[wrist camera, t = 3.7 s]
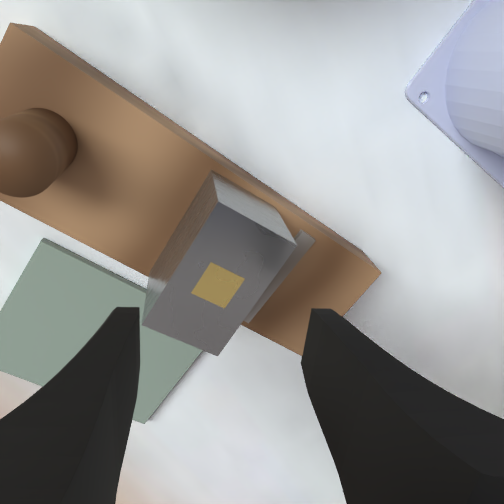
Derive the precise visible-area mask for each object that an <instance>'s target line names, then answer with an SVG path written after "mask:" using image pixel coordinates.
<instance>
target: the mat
mask: <svg viewBox="0 0 504 504" xmlns="http://www.w3.org/2000/svg"><path fill="white" fill-rule="evenodd" d="M146 292H147V290H146V289H144V288H142V287H140V286H138V285H136V284H134V283H132V282H130V281H128V280H126V279H124V278H122V277H120V276H118V275H117V274H115V273H113V272H111V271H109V270H107V269H105V268H103V267H101V266H99V265H97V264H95V263H93V262H91V261H89V260H87V259H85V258H83V257H81V256H79V255H77V254H75V253H73V252H71V251H69V250H67V249H65V248H63V247H61V246H59V245H57V244H55V243H53V242H51V241H49V240H47V239H45V238H43V239H42V240H41V242H40V243H39V245H38V247H37V249H36V250H35V252H34V254H33V256H32V257H31V259H30V261H29V263H28V264H27V266H26V268H25V269H24V271H23V273H22V275H21V276H20V278H19V280H18V282H17V283H16V285H15V287H14V289H13V290H12V292H11V294H10V295H9V297H8V299H7V301H6V302H5V304H4V306H3V308H2V309H1V311H0V371H2V372H5V373H8V374H10V375H13V376H16V377H19V378H21V379H24V380H27V381H29V382H32V383H35V384H37V385H40V386H44V385H45V384H46V383H47V382H48V381H50V380H51V379H52V378H53V377H54V376H55V375H56V374H57V373H58V372H59V371H60V370H61V369H62V368H63V367H64V366H65V365H66V364H67V363H68V362H69V361H70V360H71V359H72V358H73V357H74V356H75V355H76V354H77V353H78V352H79V351H80V350H81V349H82V347H83V346H84V345H85V344H86V343H87V342H88V341H89V340H90V338H91V337H92V336H93V335H94V334H95V333H96V331H97V330H98V329H99V328H100V326H101V325H102V324H103V323H104V321H105V320H106V319H107V317H108V316H109V315H110V313H111V312H112V311H113V310H114V309H115V308H116V307H140V373H139V383H138V392H137V400H136V404H135V409H134V414H133V418H132V420H135V421H137V422H140V423H143V424H145V423H146V421H147V420H148V419H149V418H150V416H151V415H152V414H153V413H154V411H155V410H156V409H157V408H158V406H159V405H160V404H161V402H162V401H163V400H164V399H165V397H166V396H167V395H168V394H169V392H170V391H171V390H172V389H173V387H174V386H175V385H176V383H177V382H178V381H179V380H180V378H181V377H182V376H183V375H184V373H185V372H186V371H187V370H188V368H189V367H190V366H191V364H192V363H193V362H194V361H195V359H196V358H197V357H198V356H199V354H200V353H201V352H202V351H203V350H201V349H199V348H196V347H194V346H191V345H189V344H186V343H184V342H181V341H179V340H176V339H174V338H172V337H169V336H167V335H164V334H162V333H159V332H157V331H154V330H152V329H149V328H147V327H144V326H142V325H141V324H142V318H143V311H144V305H145V298H146Z"/></svg>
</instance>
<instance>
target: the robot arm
mask: <svg viewBox="0 0 504 504" xmlns="http://www.w3.org/2000/svg"><path fill="white" fill-rule="evenodd" d="M422 92H426V93H427V99H426V101H425V102H423V103H420V101H419V96H420V94H421V93H422ZM405 97H406V98H407V100H409V101H410V102H411V103H412V104H413V105H414V106H415V107H416V108H417V109H418V110H419V111H420V112H421V113H423V114H424V115H425V116H426V117H427V118H428V119H429V120H430V121H431V122H432V123H433V124H434V125H436V126H437V127H438V128H439V129H440V130H441V131H442V132H443V133H444V134H445V135H446V136H447V137H449V138H450V139H451V140H452V141H453V142H454V143H455V144H456V145H457V146H458V147H459V148H460V149H462V150H463V151H464V152H465V153H466V154H467V155H468V156H469V157H470V158H471V159H472V160H473V161H475V162H476V163H477V164H478V165H479V166H480V167H481V168H482V169H483V170H484V171H485V172H486V173H488V174H489V175H490V176H491V177H492V178H493V179H494V180H495V181H496V182H497V183H498V184H499V185H501V186H502V187H503V188H504V0H473V1H472V3H471V4H470V5H469V6H468V8H467V9H466V10H465V12H464V13H463V14H462V15H461V17H460V18H459V19H458V20H457V22H456V23H455V24H454V26H453V27H452V28H451V29H450V31H449V32H448V33H447V34H446V36H445V37H444V38H443V40H442V41H441V42H440V43H439V45H438V46H437V47H436V48H435V50H434V51H433V52H432V54H431V55H430V56H429V57H428V59H427V60H426V61H425V62H424V64H423V65H422V66H421V68H420V69H419V70H418V71H417V73H416V74H415V75H414V76H413V78H412V79H411V80H410V82H409V83H408V84H407V86H406V88H405ZM301 365H302V369H303V374H304V379H305V383H306V387H307V391H308V394H309V397H310V400H311V402H312V405H313V408H314V410H315V413H316V416H317V418H318V421H319V423H320V426H321V429H322V431H323V434H324V436H325V439H326V442H327V444H328V447H329V449H330V452H331V455H332V457H333V460H334V463H335V465H336V468H337V471H338V474H339V477H340V481H341V485H342V488H343V492H344V496H345V499H346V503H347V504H504V419H502V418H499V417H497V416H495V415H493V414H491V413H489V412H486V411H484V410H482V409H480V408H478V407H476V406H474V405H472V404H470V403H468V402H466V401H464V400H462V399H460V398H458V397H457V396H455V395H453V394H451V393H449V392H447V391H446V390H444V389H442V388H441V387H439V386H437V385H436V384H434V383H432V382H431V381H429V380H427V379H426V378H424V377H422V376H421V375H419V374H418V373H416V372H414V371H413V370H411V369H410V368H408V367H407V366H406V365H404V364H403V363H401V362H400V361H398V360H397V359H396V358H394V357H393V356H391V355H390V354H389V353H387V352H386V351H385V350H383V349H382V348H381V347H379V346H378V345H377V344H376V343H374V342H373V341H372V340H370V339H369V338H368V337H367V336H365V335H364V334H363V333H362V332H360V331H359V330H358V329H357V328H355V327H354V326H353V325H352V324H351V323H349V322H348V321H347V320H346V319H344V318H343V317H342V316H341V315H339V314H338V313H337V312H335V311H334V310H332V309H325V308H311V313H310V319H309V324H308V329H307V334H306V339H305V345H304V350H303V355H302V360H301ZM139 373H140V307H116V308H115V309H114V310H113V311H112V312H111V313H110V315H109V316H108V317H107V319H106V320H105V321H104V323H103V324H102V325H101V326H100V328H99V329H98V330H97V331H96V333H95V334H94V335H93V336H92V337H91V338H90V340H89V341H88V342H87V343H86V344H85V345H84V346H83V347H82V349H81V350H80V351H79V352H78V353H77V354H76V355H75V356H74V357H73V358H72V359H71V360H70V361H69V362H68V363H67V364H66V365H65V366H64V367H63V368H62V369H61V370H60V371H59V372H58V373H57V374H56V375H55V376H54V377H53V378H52V379H51V380H50V381H48V382H47V383H46V384H45V385H44V386H43V387H42V388H41V389H39V390H38V391H37V392H36V393H35V394H33V395H32V396H31V397H30V398H29V399H27V400H26V401H25V402H24V403H22V404H21V405H20V406H18V407H17V408H16V409H14V410H13V411H11V412H10V413H9V414H7V415H6V416H4V417H3V418H2V419H0V504H115V501H116V493H117V487H118V482H119V476H120V471H121V467H122V463H123V458H124V454H125V449H126V445H127V440H128V436H129V431H130V427H131V423H132V418H133V414H134V409H135V404H136V400H137V392H138V383H139Z"/></svg>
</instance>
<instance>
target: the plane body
mask: <svg viewBox="0 0 504 504" xmlns="http://www.w3.org/2000/svg"><path fill="white" fill-rule="evenodd" d="M211 170H213V171H215V172H216V173H218V174H220V175H222V176H223V177H225V178H227V179H228V180H230V181H232V182H234V183H235V184H237V185H239V186H240V187H242V188H244V189H246V190H247V191H249V192H251V193H252V194H254V195H256V196H258V197H259V198H261V199H263V200H264V201H266V202H268V203H270V204H271V205H273V206H275V207H276V209H277V211H278V213H279V214H280V216H281V218H282V220H283V221H284V223H285V225H286V226H287V228H288V230H289V232H290V233H291V235H292V237H293V239H294V240H295V242H296V244H297V246H296V248H295V249H294V251H293V252H292V253H291V255H290V256H289V258H288V259H287V260H286V262H285V263H284V265H283V266H282V267H281V269H280V270H279V271H278V273H277V274H276V276H275V277H274V278H273V280H272V281H271V283H270V284H269V285H268V287H267V288H266V290H265V291H264V292H263V294H262V295H261V297H260V298H259V299H258V301H257V302H256V304H255V305H254V306H253V308H252V309H251V311H250V312H249V313H248V315H247V316H246V318H245V319H244V320H243V322H242V323H241V325H243V326H245V327H247V328H249V329H251V330H252V331H254V332H256V333H258V334H260V335H262V336H264V337H266V338H268V339H270V340H272V341H274V342H276V343H278V344H280V345H282V346H284V347H285V348H287V349H289V350H291V351H293V352H295V353H297V354H299V355H301V356H302V355H303V350H304V345H305V339H306V334H307V329H308V324H309V319H310V313H311V308H325V309H332V310H334V311H335V312H337V313H338V314H339V315H341V316H342V317H343V316H344V314H345V313H346V312H347V311H348V310H349V309H350V308H351V307H352V305H353V304H354V303H355V302H356V301H357V300H358V299H359V298H360V296H361V295H362V294H363V293H364V292H365V291H366V290H367V289H368V288H369V286H370V285H371V284H372V283H373V282H374V281H375V280H376V279H377V277H378V276H379V275H380V274H381V272H380V270H379V269H378V268H377V267H376V266H375V265H374V264H373V262H372V261H371V260H370V259H369V258H368V257H367V256H366V255H365V253H364V252H363V251H362V250H360V249H359V248H357V247H356V246H354V245H353V244H351V243H350V242H349V241H347V240H346V239H344V238H343V237H341V236H340V235H338V234H337V233H335V232H334V231H332V230H331V229H330V228H328V227H327V226H325V225H324V224H322V223H321V222H319V221H318V220H316V219H315V218H313V217H312V216H311V215H309V214H308V213H306V212H305V211H303V210H302V209H300V208H299V207H297V206H296V205H294V204H293V203H292V202H290V201H289V200H287V199H286V198H284V197H283V196H281V195H280V194H278V193H277V192H275V191H274V190H273V189H271V188H270V187H268V186H267V185H265V184H264V183H262V182H261V181H259V180H258V179H256V178H255V177H254V176H252V175H251V174H249V173H248V172H246V171H245V170H243V169H242V168H240V167H239V166H238V165H236V164H235V163H233V162H232V161H230V160H229V159H227V158H226V157H224V156H223V155H221V154H220V153H219V152H217V151H216V150H214V149H213V148H211V147H210V146H208V145H207V144H205V143H204V142H202V141H201V140H200V139H198V138H197V137H195V136H194V135H192V134H191V133H189V132H188V131H186V130H185V129H183V128H182V127H181V126H179V125H178V124H176V123H175V122H173V121H172V120H170V119H169V118H167V117H166V116H164V115H163V114H162V113H160V112H159V111H157V110H156V109H154V108H153V107H151V106H150V105H148V104H147V103H145V102H144V101H143V100H141V99H140V98H138V97H137V96H135V95H134V94H132V93H131V92H129V91H128V90H126V89H125V88H124V87H122V86H121V85H119V84H118V83H116V82H115V81H113V80H112V79H110V78H109V77H107V76H106V75H105V74H103V73H102V72H100V71H99V70H97V69H96V68H94V67H93V66H91V65H90V64H88V63H87V62H86V61H84V60H83V59H81V58H80V57H78V56H77V55H75V54H74V53H72V52H71V51H69V50H68V49H67V48H65V47H64V46H62V45H61V44H59V43H58V42H56V41H55V40H53V39H52V38H50V37H49V36H48V35H46V34H45V33H43V32H42V31H40V30H39V29H37V28H36V27H34V26H28V25H22V24H16V23H10V24H9V26H8V28H7V31H6V33H5V35H4V37H3V39H2V41H1V44H0V201H2V202H4V203H6V204H8V205H10V206H12V207H14V208H16V209H18V210H20V211H22V212H24V213H26V214H28V215H29V216H31V217H33V218H35V219H37V220H39V221H41V222H43V223H45V224H47V225H49V226H51V227H53V228H55V229H57V230H59V231H60V232H62V233H64V234H66V235H68V236H70V237H72V238H74V239H76V240H78V241H80V242H82V243H84V244H86V245H88V246H90V247H92V248H93V249H95V250H97V251H99V252H101V253H103V254H105V255H107V256H109V257H111V258H113V259H115V260H117V261H119V262H121V263H123V264H124V265H126V266H128V267H130V268H132V269H134V270H136V271H138V272H140V273H142V274H144V275H146V276H148V277H149V273H150V271H151V269H152V267H153V266H154V264H155V262H156V261H157V259H158V257H159V256H160V254H161V252H162V251H163V249H164V247H165V246H166V244H167V242H168V241H169V239H170V237H171V236H172V234H173V232H174V231H175V229H176V227H177V226H178V224H179V222H180V221H181V219H182V217H183V216H184V214H185V212H186V211H187V209H188V207H189V206H190V204H191V202H192V201H193V199H194V197H195V196H196V194H197V192H198V191H199V189H200V187H201V186H202V184H203V182H204V181H205V179H206V177H207V176H208V174H209V172H210V171H211Z"/></svg>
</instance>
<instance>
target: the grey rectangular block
mask: <svg viewBox="0 0 504 504" xmlns="http://www.w3.org/2000/svg"><path fill="white" fill-rule="evenodd" d="M296 246H297V244H296V242H295V240H294V239H293V237H292V235H291V233H290V232H289V230H288V228H287V226H286V225H285V223H284V221H283V220H282V218H281V216H280V214H279V213H278V211H277V209H276V207H275V206H273V205H271V204H270V203H268V202H266V201H264V200H263V199H261V198H259V197H258V196H256V195H254V194H252V193H251V192H249V191H247V190H246V189H244V188H242V187H240V186H239V185H237V184H235V183H234V182H232V181H230V180H228V179H227V178H225V177H223V176H222V175H220V174H218V173H216V172H215V171H213V170H211V171H210V172H209V174H208V176H207V177H206V179H205V181H204V182H203V184H202V186H201V187H200V189H199V191H198V192H197V194H196V196H195V197H194V199H193V201H192V202H191V204H190V206H189V207H188V209H187V211H186V212H185V214H184V216H183V217H182V219H181V221H180V222H179V224H178V226H177V227H176V229H175V231H174V232H173V234H172V236H171V237H170V239H169V241H168V242H167V244H166V246H165V247H164V249H163V251H162V252H161V254H160V256H159V257H158V259H157V261H156V262H155V264H154V266H153V267H152V269H151V271H150V273H149V279H148V285H147V292H146V298H145V305H144V311H143V318H142V324H141V325H142V326H144V327H147V328H149V329H152V330H154V331H157V332H159V333H162V334H164V335H167V336H169V337H172V338H174V339H176V340H179V341H181V342H184V343H186V344H189V345H191V346H194V347H196V348H199V349H201V350H204V351H206V352H209V353H211V354H213V355H216V356H218V355H219V354H220V352H221V351H222V350H223V348H224V347H225V345H226V344H227V343H228V341H229V340H230V338H231V337H232V336H233V334H234V333H235V331H236V330H237V329H238V327H239V326H240V324H241V323H242V322H243V320H244V319H245V318H246V316H247V315H248V313H249V312H250V311H251V309H252V308H253V306H254V305H255V304H256V302H257V301H258V299H259V298H260V297H261V295H262V294H263V292H264V291H265V290H266V288H267V287H268V285H269V284H270V283H271V281H272V280H273V278H274V277H275V276H276V274H277V273H278V271H279V270H280V269H281V267H282V266H283V265H284V263H285V262H286V260H287V259H288V258H289V256H290V255H291V253H292V252H293V251H294V249H295V248H296Z"/></svg>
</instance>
